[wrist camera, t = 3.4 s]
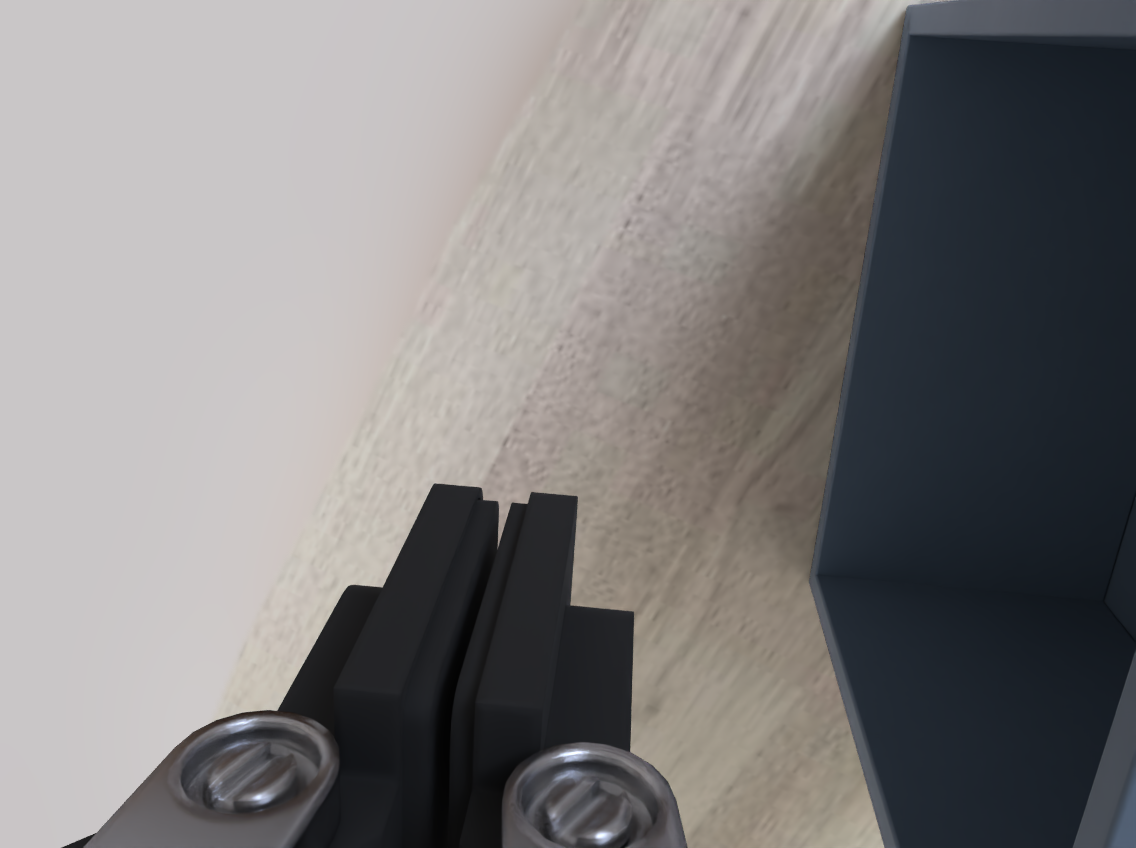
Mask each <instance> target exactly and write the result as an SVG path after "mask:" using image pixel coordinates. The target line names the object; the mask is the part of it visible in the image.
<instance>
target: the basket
mask: <svg viewBox="0 0 1136 848" xmlns="http://www.w3.org/2000/svg"><path fill="white" fill-rule="evenodd" d="M809 584H810V587H811V591H812V594H813V597H814V601H815V604H816V608H817V611H818V615H819V618H820V622H821V626H822V629H823V633H824V636H825V640H826V643H827V647H828V650H829V654H830V657H831V661H832V664H833V668H834V671H835V675H836V678H837V682H838V685H839V689H840V692H841V696H842V699H843V703H844V706H845V710H846V713H847V717H848V720H849V724H850V727H851V731H852V734H853V738H854V741H855V745H856V748H857V752H858V755H859V759H860V762H861V766H862V770H863V773H864V777H865V780H866V784H867V787H868V791H869V794H870V798H871V801H872V805H873V808H874V812H875V815H876V819H877V822H878V826H879V829H880V833H881V836H882V840H883V843H884V847H885V848H1136V0H953V1H944V2H935V3H926V4H916V5H909V6H908V7H907V9H906V15H905V21H904V27H903V33H902V39H901V45H900V50H899V56H898V62H897V68H896V74H895V80H894V86H893V92H892V97H891V103H890V109H889V115H888V121H887V127H886V133H885V139H884V144H883V150H882V156H881V162H880V168H879V174H878V180H877V186H876V191H875V197H874V203H873V209H872V215H871V221H870V227H869V233H868V239H867V244H866V250H865V256H864V262H863V268H862V274H861V280H860V286H859V291H858V297H857V303H856V309H855V315H854V321H853V327H852V333H851V338H850V344H849V350H848V356H847V362H846V368H845V374H844V380H843V385H842V391H841V397H840V403H839V409H838V415H837V421H836V427H835V433H834V438H833V444H832V450H831V456H830V462H829V468H828V474H827V480H826V485H825V491H824V497H823V503H822V509H821V515H820V521H819V527H818V532H817V538H816V544H815V550H814V556H813V562H812V568H811V574H810V579H809Z"/></svg>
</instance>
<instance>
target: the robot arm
mask: <svg viewBox="0 0 1136 848" xmlns="http://www.w3.org/2000/svg"><path fill="white" fill-rule="evenodd" d="M577 504H578V497H577V496H568V495H557V494H546V493H535V492H531V495H530V498H529V502H528V504H520V503H512V504H511V507H510V510H509V513H508V517H507V520H506V523H505V527H504V530H503V533H502V537H501V540H500V543H499V547H498V523H499V504H498V501H487V500H483V493H482V488H479V487H468V486H457V485H446V484H434V485H433V486H432V488H431V490H430V492H429V494H428V496H427V498H426V500H425V502H424V504H423V506H422V509H421V511H420V513H419V515H418V517H417V519H416V521H415V523H414V525H413V527H412V529H411V531H410V533H409V535H408V537H407V539H406V541H405V543H404V545H403V547H402V549H401V551H400V553H399V555H398V557H397V560H396V562H395V564H394V566H393V568H392V570H391V572H390V574H389V576H388V578H387V580H386V582H385V584H384V586H383V588H381V587H371V586H360V585H350V586H348V587H347V588H346V590H345V591H344V592H343V594H342V596H341V598H340V599H339V601H338V603H337V605H336V606H335V608H334V610H333V612H332V614H331V615H330V617H329V619H328V621H327V623H326V624H325V626H324V628H323V630H322V632H321V633H320V635H319V637H318V639H317V641H316V642H315V644H314V646H313V648H312V650H311V651H310V653H309V655H308V657H307V659H306V660H305V662H304V664H303V666H302V667H301V669H300V671H299V673H298V675H297V676H296V678H295V680H294V682H293V684H292V685H291V687H290V689H289V691H288V693H287V694H286V696H285V698H284V700H283V702H282V703H281V705H280V707H279V709H278V711H272V710H265V711H255V712H245V713H240V714H236V715H233V716H229V717H226V718H223V719H219V720H216V721H214V722H212V723H210V724H208V725H206V726H204V727H202V728H200V729H199V730H196V731H195V732H193V733H192V734H191V735H189V736H188V737H187V738H186V739H185V740H183V741H182V742H181V743H180V744H179V745H177V746H176V747H175V748H174V749H173V750H172V751H171V752H170V753H169V755H168V756H167V757H166V758H165V759H164V760H163V761H162V762H161V763H160V764H159V765H158V766H157V768H156V769H155V770H154V771H153V772H152V773H151V774H150V775H149V777H148V778H147V779H146V780H145V781H144V782H143V783H142V784H141V785H140V786H139V787H138V788H137V789H136V791H135V792H134V793H133V794H132V795H131V796H130V797H129V798H128V799H127V800H126V802H124V804H123V805H122V806H121V807H120V808H119V809H118V810H117V811H116V812H115V814H113V816H112V817H111V818H110V819H109V820H108V821H107V822H106V823H105V824H104V825H103V826H102V828H101V829H100V830H99V831H98V832H97V833H95V834H93V835H90V836H88V837H86V838H83V839H81V840H79V841H76V842H74V843H71V844H69V845H67V846H64V847H62V848H687V843H686V839H685V835H684V831H683V827H682V823H681V818H680V814H679V810H678V806H677V802H676V799H675V797H674V794H673V792H672V790H671V788H670V786H669V783H668V781H667V780H666V779H665V778H664V777H663V776H662V775H661V774H660V773H659V772H658V771H657V770H656V769H655V768H654V767H653V766H652V765H651V764H649V763H648V762H646V761H644V760H643V759H641V758H639V757H638V756H636V755H634V754H633V753H631V752H630V737H631V703H632V669H633V635H634V612H632V611H622V610H611V609H601V608H590V607H580V606H570V602H571V588H572V574H573V561H574V547H575V533H576V520H577ZM497 547H498V550H497Z"/></svg>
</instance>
